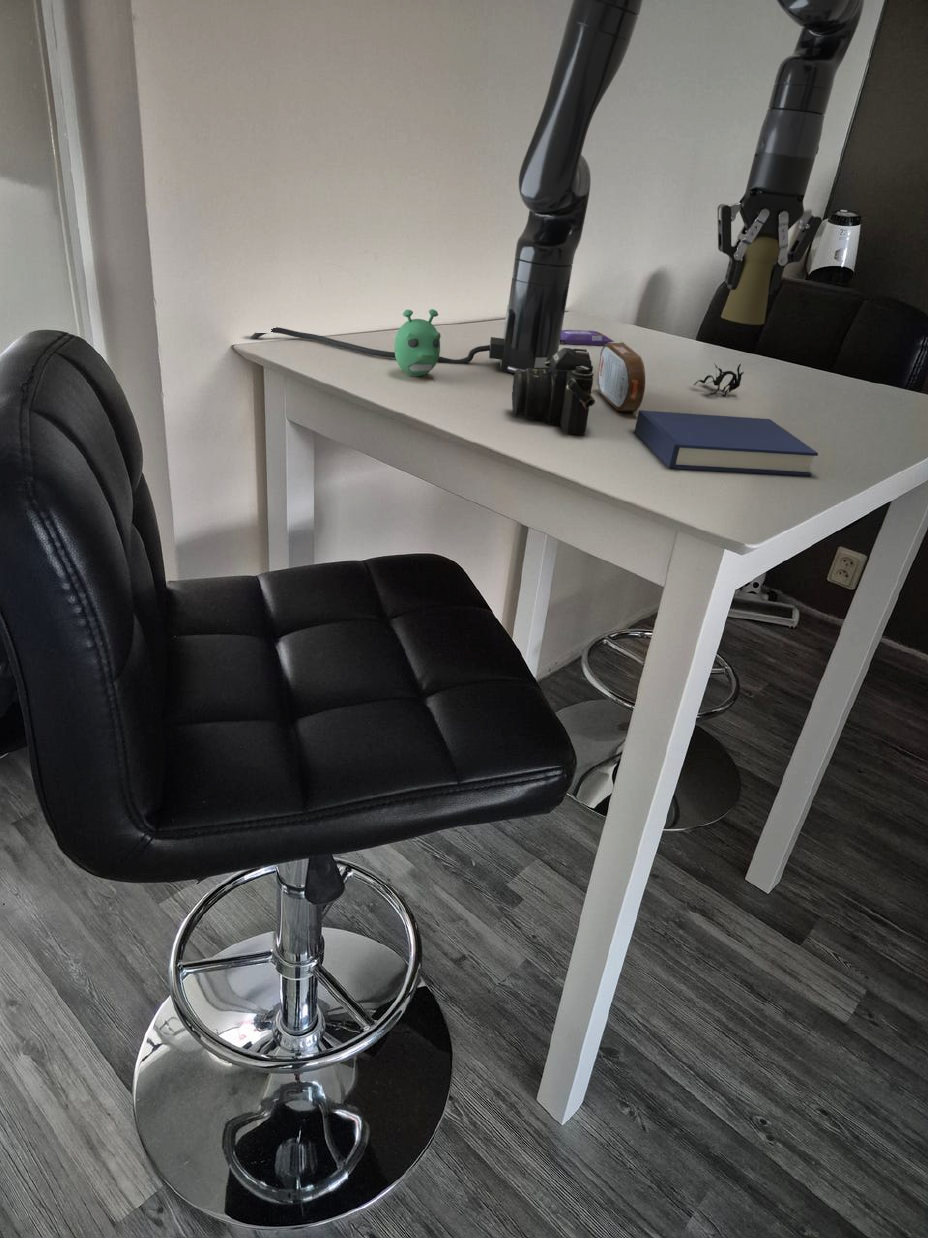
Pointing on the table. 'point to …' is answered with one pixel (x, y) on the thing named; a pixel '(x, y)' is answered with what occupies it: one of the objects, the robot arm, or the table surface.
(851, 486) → the table surface
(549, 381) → the film camera
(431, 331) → the alien toy
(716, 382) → the creature
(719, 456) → the book
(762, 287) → the cork
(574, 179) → the robot arm
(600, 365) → the tin
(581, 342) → the snack package
